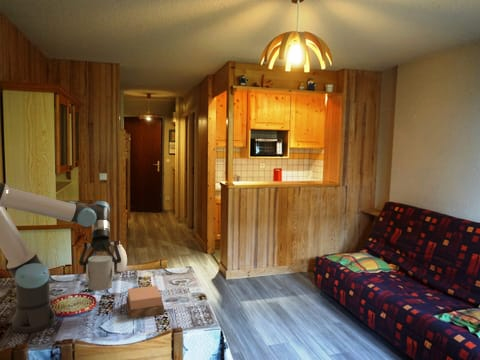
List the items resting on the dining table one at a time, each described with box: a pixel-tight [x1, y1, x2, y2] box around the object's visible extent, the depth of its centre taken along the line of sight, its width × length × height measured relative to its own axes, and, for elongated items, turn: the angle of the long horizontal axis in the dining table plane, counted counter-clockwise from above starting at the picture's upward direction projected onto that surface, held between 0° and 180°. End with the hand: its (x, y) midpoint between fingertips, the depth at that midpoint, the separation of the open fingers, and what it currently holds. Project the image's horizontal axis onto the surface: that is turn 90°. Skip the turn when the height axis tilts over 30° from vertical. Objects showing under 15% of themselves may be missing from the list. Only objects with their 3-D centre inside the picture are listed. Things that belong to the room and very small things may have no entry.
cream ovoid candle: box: [112, 240, 128, 273], centre depth 209 cm, size 8×8×18 cm
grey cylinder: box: [88, 254, 113, 292], centre depth 156 cm, size 10×10×12 cm
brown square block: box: [127, 285, 163, 310], centre depth 164 cm, size 13×13×4 cm
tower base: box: [125, 295, 165, 319], centre depth 165 cm, size 15×15×4 cm
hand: (100, 278), depth 154 cm, fingers closed on grey cylinder, 9 cm apart
